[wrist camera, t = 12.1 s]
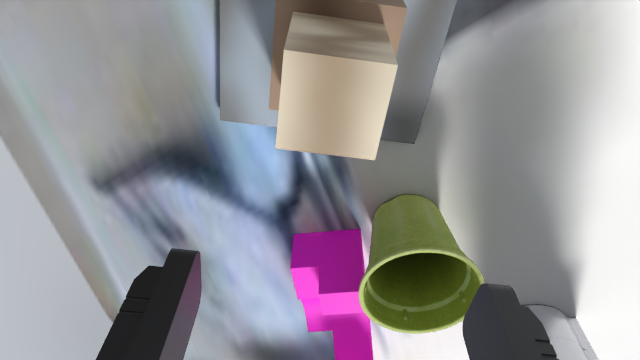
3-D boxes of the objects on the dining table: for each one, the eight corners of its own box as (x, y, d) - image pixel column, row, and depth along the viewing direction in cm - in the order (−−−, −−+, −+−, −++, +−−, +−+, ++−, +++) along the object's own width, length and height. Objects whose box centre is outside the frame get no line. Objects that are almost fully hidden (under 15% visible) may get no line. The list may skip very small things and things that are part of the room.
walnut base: (475, -79, 26) (507, -66, 22) (412, 137, 35) (425, 181, 30) (222, -118, 26) (197, -113, 21) (222, 113, 34) (204, 155, 29)
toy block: (294, 232, 42) (287, 296, 36) (360, 227, 41) (365, 291, 35) (315, 330, 50) (313, 394, 44) (370, 326, 50) (375, 391, 44)
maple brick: (384, 24, 24) (398, 65, 19) (366, 106, 27) (375, 160, 22) (293, 11, 24) (283, 49, 19) (285, 96, 27) (275, 148, 22)
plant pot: (345, 250, 43) (348, 327, 36) (364, 170, 37) (372, 243, 30) (439, 261, 43) (461, 339, 36) (472, 184, 38) (505, 258, 31)
